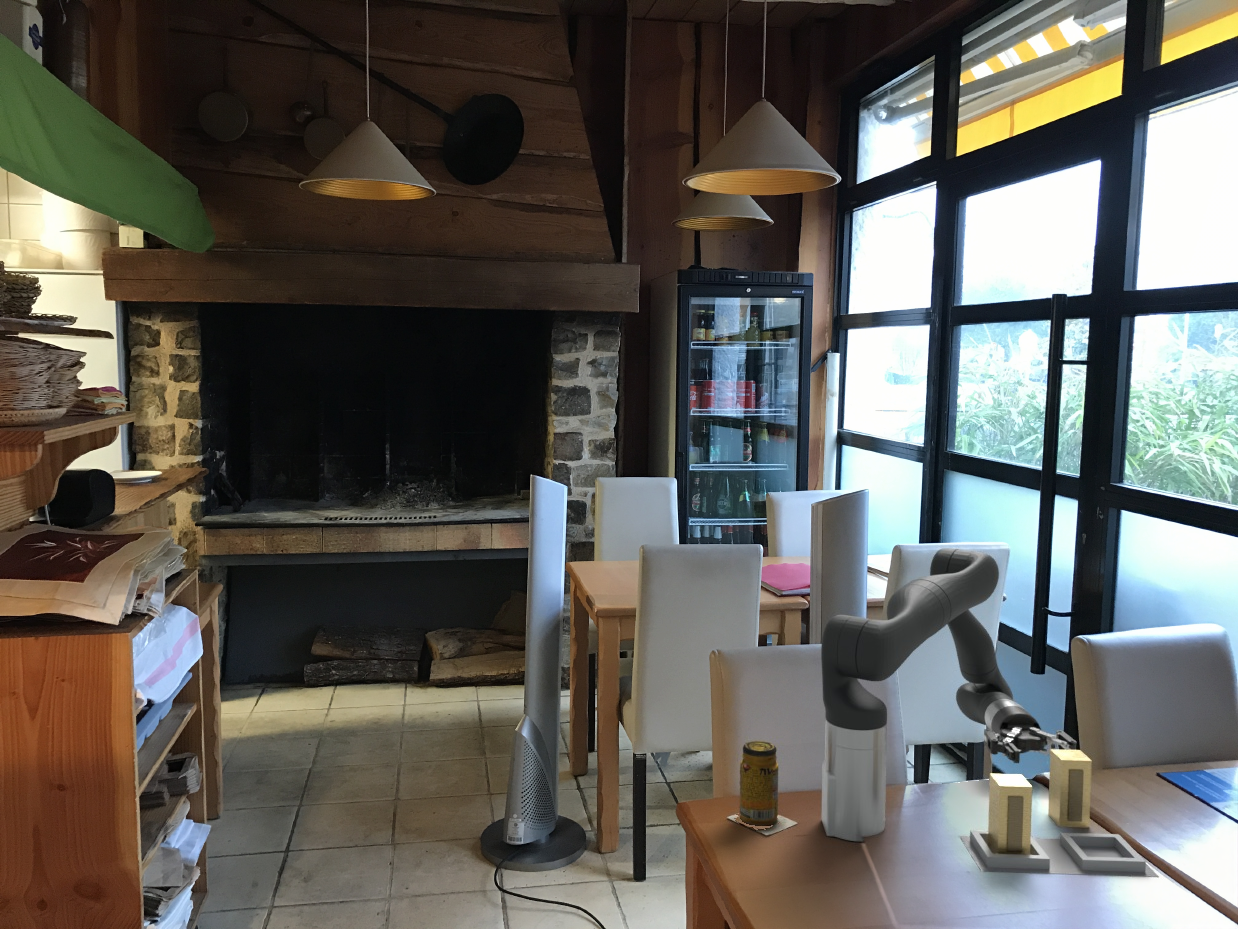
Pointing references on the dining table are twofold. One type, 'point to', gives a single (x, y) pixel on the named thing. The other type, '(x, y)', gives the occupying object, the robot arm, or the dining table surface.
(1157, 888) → the dining table surface
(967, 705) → the robot arm
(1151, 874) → the grey double socket tray
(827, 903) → the dining table surface
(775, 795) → the condiment
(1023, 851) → the block
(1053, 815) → the block
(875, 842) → the dining table surface
